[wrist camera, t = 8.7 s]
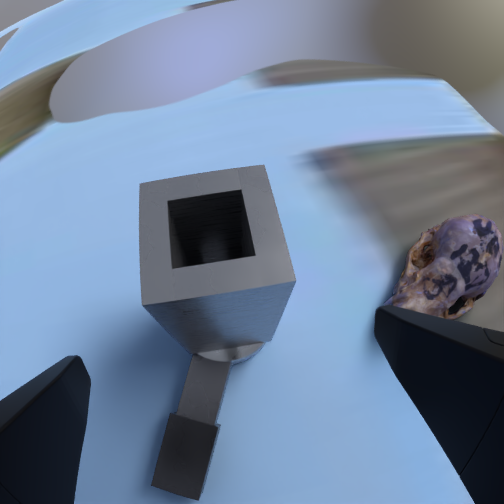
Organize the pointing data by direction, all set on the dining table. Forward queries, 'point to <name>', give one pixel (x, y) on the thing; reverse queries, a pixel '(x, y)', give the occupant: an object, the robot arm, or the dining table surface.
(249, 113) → the dining table surface
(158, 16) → the dining table surface
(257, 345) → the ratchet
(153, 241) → the socket
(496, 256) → the skull
